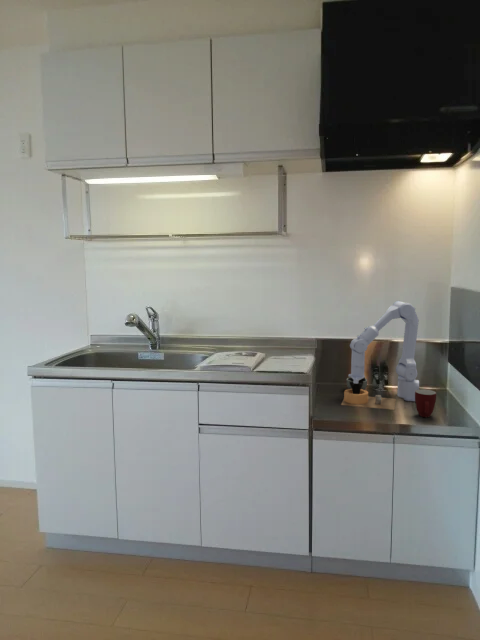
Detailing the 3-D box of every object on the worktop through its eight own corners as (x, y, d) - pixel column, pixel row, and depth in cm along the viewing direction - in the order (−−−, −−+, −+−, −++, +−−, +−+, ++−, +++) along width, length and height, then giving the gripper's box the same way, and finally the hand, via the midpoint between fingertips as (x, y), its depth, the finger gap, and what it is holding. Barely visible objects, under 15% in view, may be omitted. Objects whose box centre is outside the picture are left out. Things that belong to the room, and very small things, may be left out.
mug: (439, 421, 198) (440, 396, 196) (418, 421, 198) (419, 396, 197) (432, 412, 208) (433, 389, 207) (412, 412, 209) (413, 389, 207)
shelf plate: (395, 401, 224) (396, 391, 223) (394, 412, 209) (394, 401, 208) (345, 397, 231) (345, 387, 230) (340, 407, 216) (341, 396, 215)
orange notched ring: (368, 398, 225) (368, 389, 224) (366, 404, 215) (366, 395, 215) (345, 396, 228) (346, 387, 227) (343, 402, 219) (343, 393, 218)
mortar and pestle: (367, 397, 230) (367, 371, 229) (346, 396, 232) (346, 370, 231) (366, 390, 241) (367, 366, 240) (346, 389, 243) (346, 365, 242)
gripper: (350, 361, 232) (350, 390, 233) (346, 368, 218) (346, 399, 220) (366, 362, 229) (365, 391, 231) (363, 369, 216) (362, 400, 218)
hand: (357, 395), depth 225 cm, fingers open, 7 cm apart
